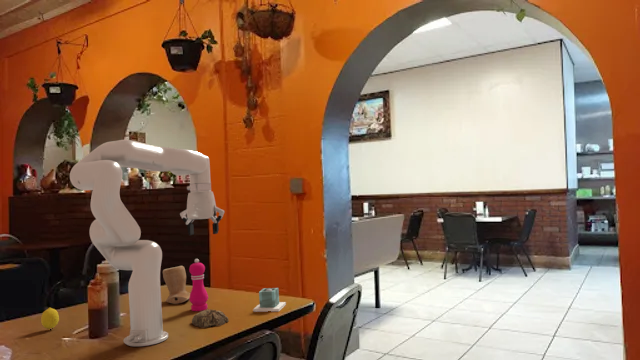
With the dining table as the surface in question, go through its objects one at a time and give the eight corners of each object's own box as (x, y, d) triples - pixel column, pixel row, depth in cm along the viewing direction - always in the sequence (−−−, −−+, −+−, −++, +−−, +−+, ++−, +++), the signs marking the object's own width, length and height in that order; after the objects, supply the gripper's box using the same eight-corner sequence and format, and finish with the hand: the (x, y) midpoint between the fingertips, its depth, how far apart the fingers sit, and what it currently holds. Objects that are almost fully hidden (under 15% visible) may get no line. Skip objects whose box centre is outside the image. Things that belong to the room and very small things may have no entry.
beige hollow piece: (168, 298, 211) (166, 264, 212) (195, 296, 212) (193, 262, 213) (158, 306, 196) (156, 270, 197) (187, 304, 197) (185, 268, 197)
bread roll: (189, 322, 169) (188, 308, 169) (223, 316, 175) (222, 302, 175) (197, 331, 157) (196, 316, 158) (233, 324, 163) (232, 309, 163)
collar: (275, 307, 178) (274, 291, 178) (259, 307, 179) (258, 291, 179) (279, 303, 184) (278, 288, 184) (264, 303, 185) (263, 288, 185)
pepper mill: (211, 306, 190) (208, 256, 190) (205, 311, 183) (202, 259, 183) (193, 307, 190) (191, 257, 191) (187, 312, 183) (184, 260, 184)
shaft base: (279, 311, 175) (277, 292, 176) (253, 311, 177) (252, 293, 177) (285, 304, 185) (284, 286, 185) (261, 305, 187) (260, 287, 187)
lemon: (39, 333, 166) (38, 310, 166) (44, 329, 171) (43, 306, 171) (57, 331, 167) (56, 308, 167) (61, 326, 172) (60, 305, 173)
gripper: (174, 190, 174) (177, 236, 174) (218, 187, 171) (221, 234, 171) (183, 189, 181) (186, 234, 181) (226, 187, 178) (229, 232, 178)
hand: (203, 234), depth 176 cm, fingers open, 9 cm apart
